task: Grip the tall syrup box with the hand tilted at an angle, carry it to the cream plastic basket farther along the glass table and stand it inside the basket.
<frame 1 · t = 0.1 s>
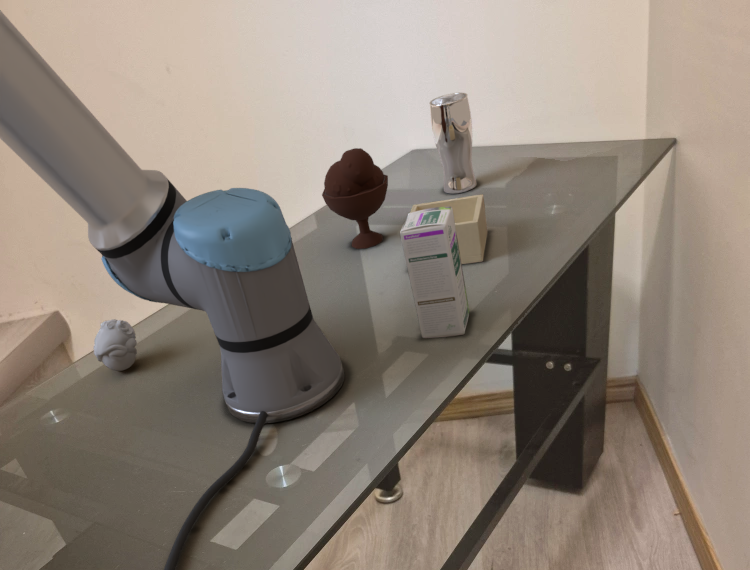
ice cream bowl: (367, 242, 125), on the table
frog figurine: (126, 368, 108), on the table
basket: (449, 251, 115), on the table
syrup box: (445, 327, 96), on the table
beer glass: (460, 188, 136), on the table
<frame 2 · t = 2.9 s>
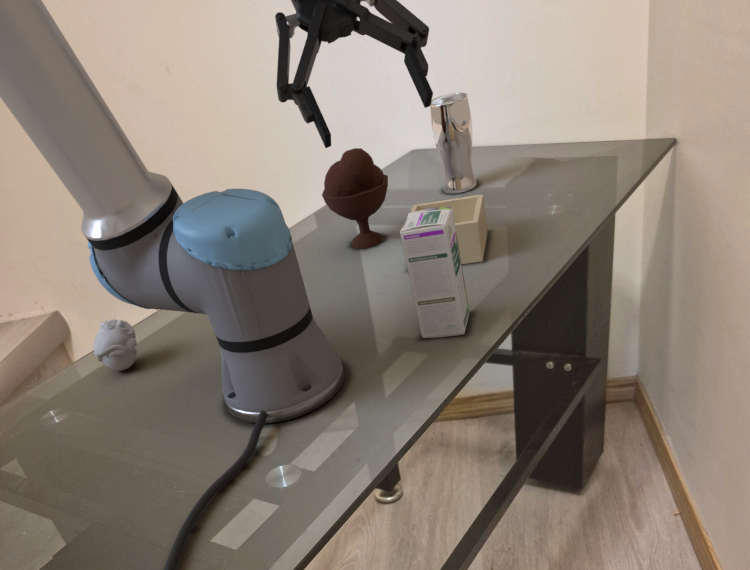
hand: (379, 121, 91), 23 cm above the table, tool tilted 40°, fingers open, 13 cm apart
nothing on the table moved.
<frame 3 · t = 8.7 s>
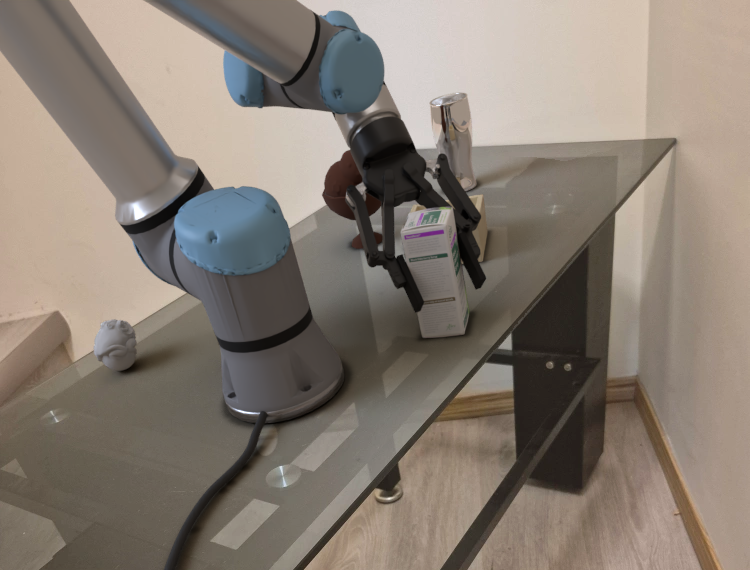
hand: (450, 295, 90), 6 cm above the table, tool tilted 45°, fingers closed on syrup box, 8 cm apart
syrup box: (445, 327, 96), on the table, touching gripper
everything else where it was.
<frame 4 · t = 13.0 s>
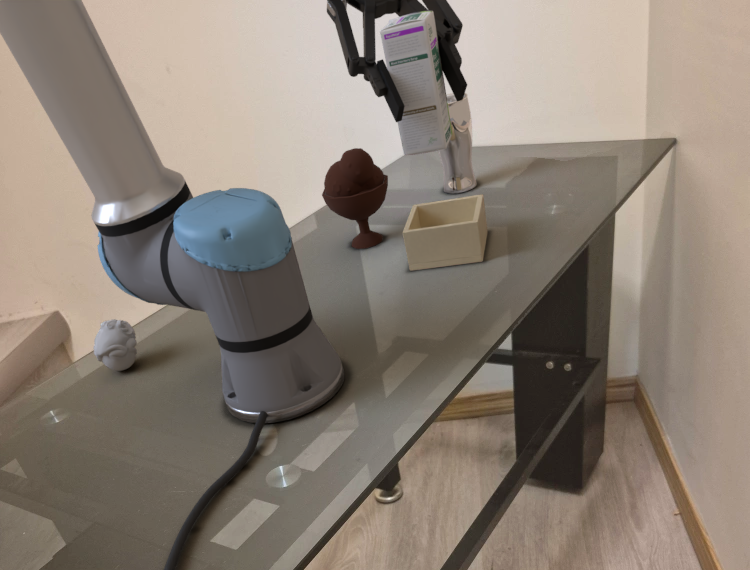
hand: (431, 103, 90), 24 cm above the table, tool tilted 45°, fingers closed on syrup box, 8 cm apart
syrup box: (428, 148, 96), point 18 cm above the table, touching gripper
everything else where it was.
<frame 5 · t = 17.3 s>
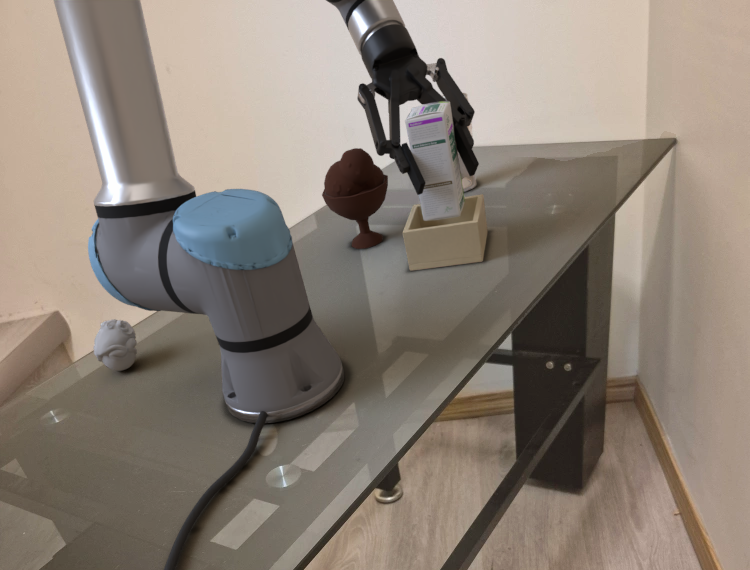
hand: (448, 179, 105), 12 cm above the table, tool tilted 45°, fingers closed on syrup box, 8 cm apart
syrup box: (444, 213, 111), point 6 cm above the table, touching gripper
everything else where it was.
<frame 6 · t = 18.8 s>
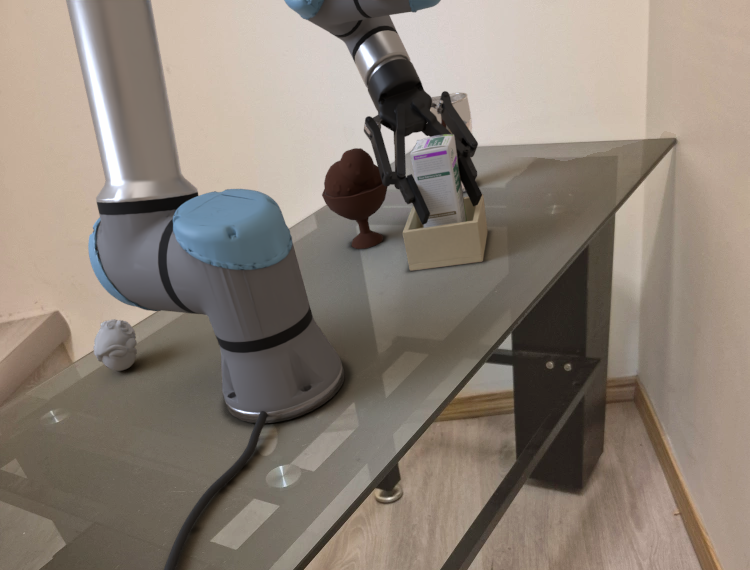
hand: (452, 209, 107), 7 cm above the table, tool tilted 45°, fingers closed on syrup box, 8 cm apart
syrup box: (447, 241, 114), point 2 cm above the table, touching gripper
everything else where it was.
when the fingers open (8 cm above the table, at t = 25.9 s): syrup box drops 2 cm, resting on basket.
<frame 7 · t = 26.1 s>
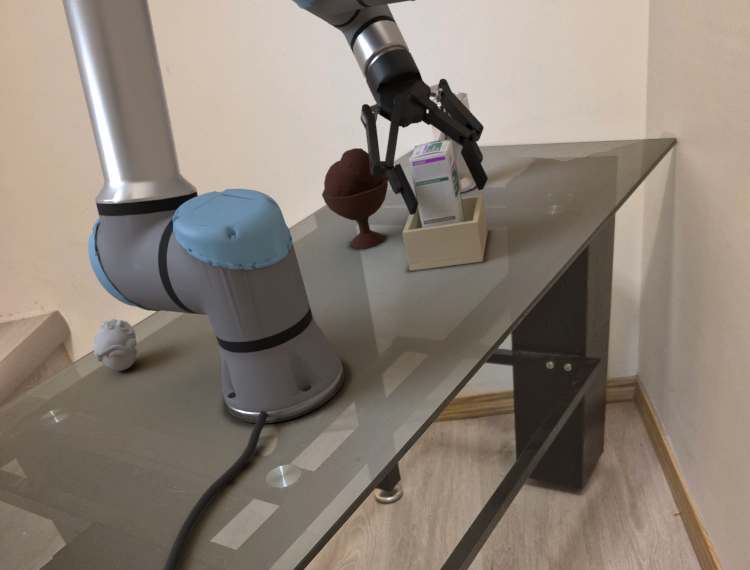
hand: (449, 196, 107), 9 cm above the table, tool tilted 45°, fingers open, 10 cm apart
syrup box: (447, 246, 114), point 1 cm above the table, touching basket
everything else where it was.
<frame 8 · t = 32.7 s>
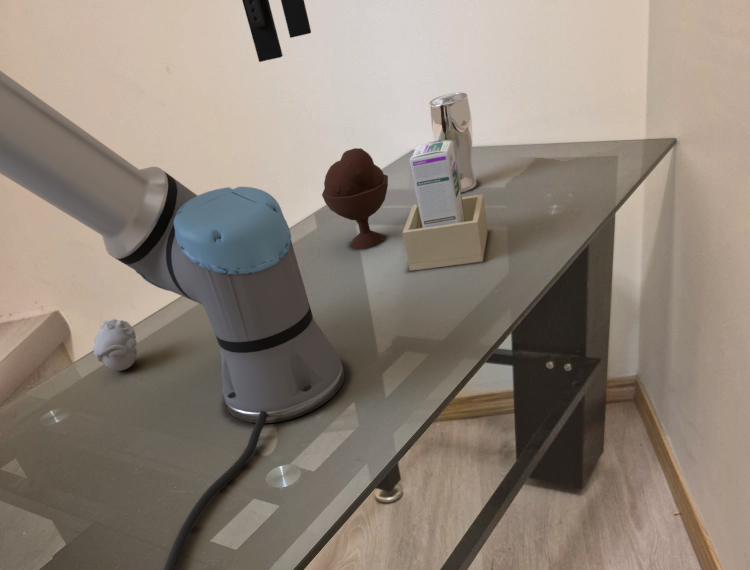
hand: (286, 46, 90), 33 cm above the table, tool pointing down, fingers open, 13 cm apart
nothing on the table moved.
at the end: syrup box inside the target area in the basket (0.3 cm from its centre), point 0.8 cm above the basket's base; syrup box tilted 0°; the gripper is holding nothing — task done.
